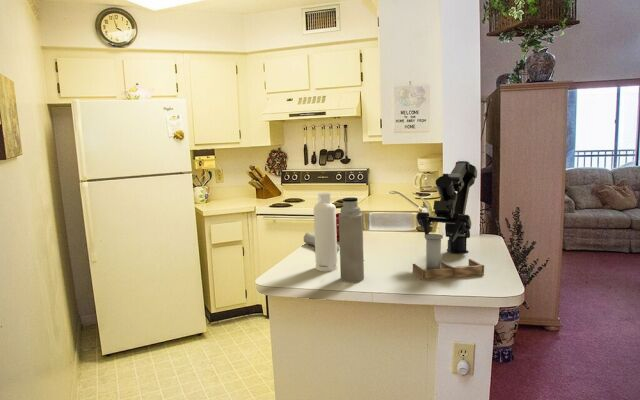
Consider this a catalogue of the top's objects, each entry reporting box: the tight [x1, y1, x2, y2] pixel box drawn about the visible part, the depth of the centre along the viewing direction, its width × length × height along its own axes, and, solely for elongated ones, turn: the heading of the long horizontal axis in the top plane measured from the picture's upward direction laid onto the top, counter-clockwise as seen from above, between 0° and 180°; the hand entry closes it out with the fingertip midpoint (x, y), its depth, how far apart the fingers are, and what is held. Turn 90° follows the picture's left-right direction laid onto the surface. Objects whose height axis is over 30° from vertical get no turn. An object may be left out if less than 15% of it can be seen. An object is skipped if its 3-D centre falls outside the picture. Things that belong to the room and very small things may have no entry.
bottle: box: [313, 192, 338, 272], centre depth 163 cm, size 8×8×28 cm
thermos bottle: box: [339, 197, 365, 283], centre depth 150 cm, size 8×8×28 cm
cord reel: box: [424, 233, 444, 270], centre depth 151 cm, size 6×6×13 cm
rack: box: [412, 258, 485, 282], centre depth 153 cm, size 22×9×3 cm, turn 100°
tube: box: [303, 232, 340, 253], centre depth 195 cm, size 5×5×25 cm
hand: (438, 240), depth 157 cm, fingers open, 9 cm apart
